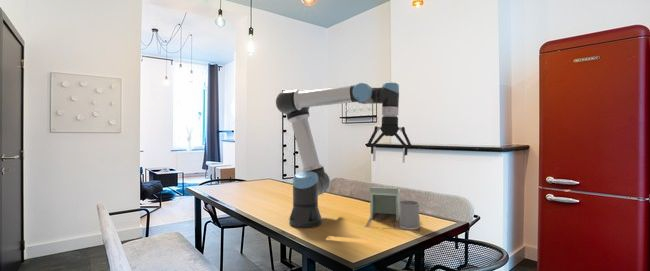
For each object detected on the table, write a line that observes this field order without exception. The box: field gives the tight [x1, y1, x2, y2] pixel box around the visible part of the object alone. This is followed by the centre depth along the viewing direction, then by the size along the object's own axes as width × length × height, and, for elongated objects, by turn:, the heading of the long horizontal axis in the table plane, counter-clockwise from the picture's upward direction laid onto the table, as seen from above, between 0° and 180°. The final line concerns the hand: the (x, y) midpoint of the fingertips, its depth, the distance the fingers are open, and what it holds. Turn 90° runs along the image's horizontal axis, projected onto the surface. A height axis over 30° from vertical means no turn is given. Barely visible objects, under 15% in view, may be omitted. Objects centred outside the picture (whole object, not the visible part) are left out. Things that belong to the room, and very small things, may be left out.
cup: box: [399, 200, 420, 228], centre depth 140 cm, size 8×8×10 cm
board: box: [364, 213, 421, 232], centre depth 149 cm, size 23×26×2 cm
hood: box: [369, 186, 401, 221], centre depth 156 cm, size 13×12×15 cm
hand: (388, 161), depth 150 cm, fingers open, 13 cm apart
